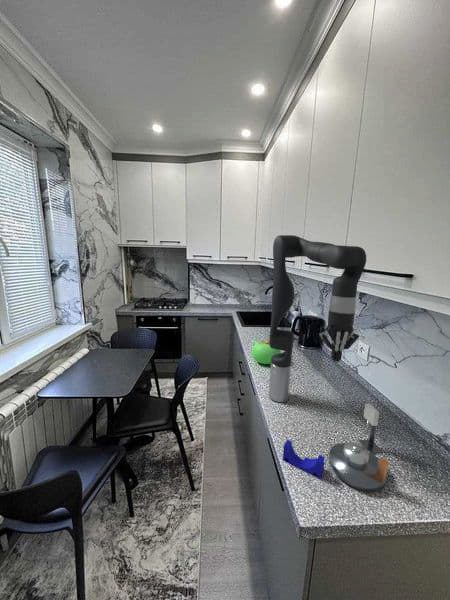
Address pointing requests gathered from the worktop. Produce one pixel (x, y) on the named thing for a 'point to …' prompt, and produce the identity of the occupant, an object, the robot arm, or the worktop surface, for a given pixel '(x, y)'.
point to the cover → (355, 456)
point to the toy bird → (263, 352)
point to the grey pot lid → (361, 480)
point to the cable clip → (303, 461)
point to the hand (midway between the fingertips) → (335, 360)
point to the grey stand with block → (372, 417)
